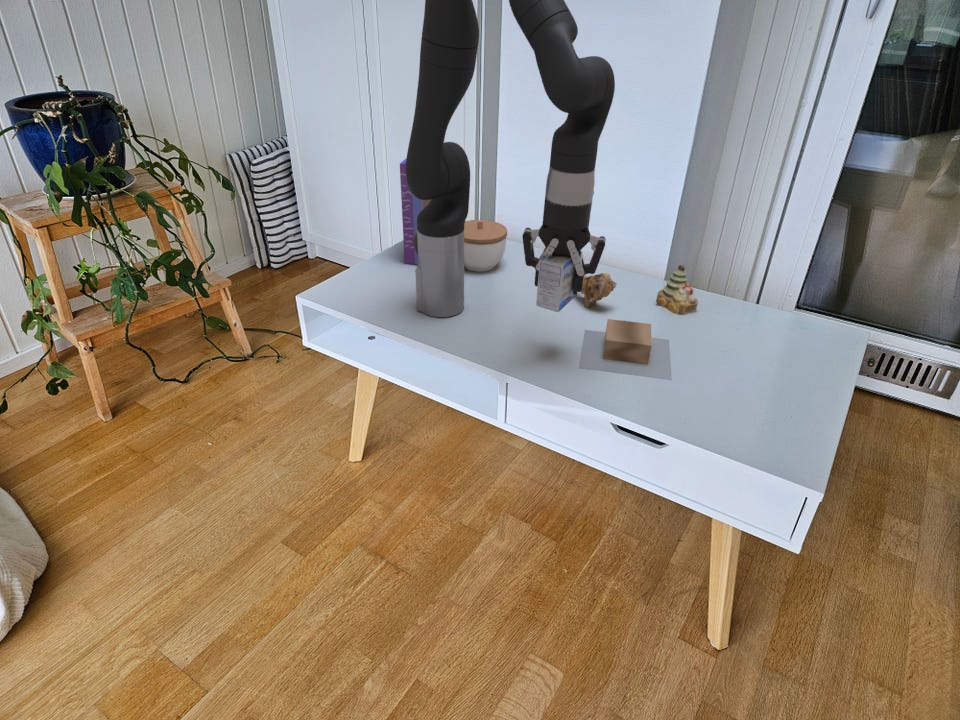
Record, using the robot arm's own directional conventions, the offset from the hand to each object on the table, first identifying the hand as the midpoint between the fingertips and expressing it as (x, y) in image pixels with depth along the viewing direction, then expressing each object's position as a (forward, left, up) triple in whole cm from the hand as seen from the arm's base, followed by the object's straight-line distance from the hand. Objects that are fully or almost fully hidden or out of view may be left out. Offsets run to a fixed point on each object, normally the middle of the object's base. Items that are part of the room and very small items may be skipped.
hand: (557, 290), depth 110 cm
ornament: (+23, +25, -14) cm, 37 cm away
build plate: (+13, +3, -14) cm, 19 cm away
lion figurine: (+4, +23, -14) cm, 27 cm away
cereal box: (-37, +42, -14) cm, 57 cm away
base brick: (+13, +4, -13) cm, 19 cm away
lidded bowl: (-22, +37, -14) cm, 45 cm away
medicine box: (0, 0, -2) cm, 2 cm away
